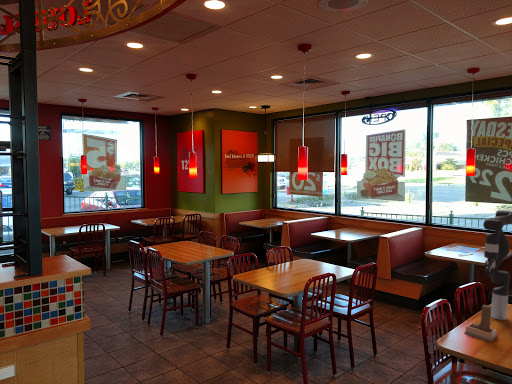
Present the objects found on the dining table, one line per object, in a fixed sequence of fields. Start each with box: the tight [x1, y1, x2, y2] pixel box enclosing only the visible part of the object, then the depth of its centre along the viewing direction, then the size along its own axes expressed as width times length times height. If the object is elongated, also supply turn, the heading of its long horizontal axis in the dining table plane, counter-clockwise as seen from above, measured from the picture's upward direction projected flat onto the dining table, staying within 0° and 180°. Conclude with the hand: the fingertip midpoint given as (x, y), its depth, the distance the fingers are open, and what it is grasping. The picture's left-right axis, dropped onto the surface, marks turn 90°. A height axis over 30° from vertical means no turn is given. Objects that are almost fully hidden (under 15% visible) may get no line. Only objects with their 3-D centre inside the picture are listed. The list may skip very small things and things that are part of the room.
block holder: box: [464, 322, 498, 343], centre depth 239 cm, size 12×15×4 cm
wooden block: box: [472, 304, 492, 332], centre depth 239 cm, size 9×4×18 cm, turn 50°
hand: (489, 275), depth 245 cm, fingers open, 8 cm apart
